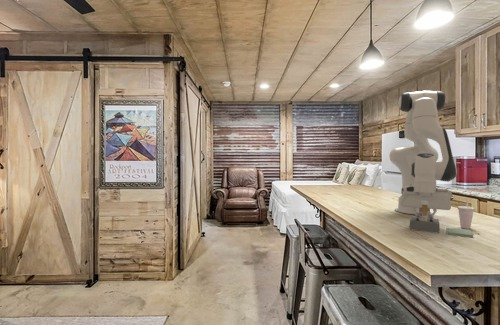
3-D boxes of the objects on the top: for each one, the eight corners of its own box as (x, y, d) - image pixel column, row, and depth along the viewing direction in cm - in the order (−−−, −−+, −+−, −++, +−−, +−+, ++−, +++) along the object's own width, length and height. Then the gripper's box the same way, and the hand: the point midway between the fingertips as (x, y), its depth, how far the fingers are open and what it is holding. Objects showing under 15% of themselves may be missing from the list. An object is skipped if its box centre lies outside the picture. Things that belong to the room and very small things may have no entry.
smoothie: (477, 229, 132) (477, 199, 131) (461, 229, 133) (462, 199, 132) (469, 226, 138) (470, 197, 137) (454, 225, 139) (455, 197, 139)
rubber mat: (445, 229, 132) (445, 227, 132) (470, 232, 128) (470, 230, 127) (447, 234, 125) (447, 232, 124) (473, 237, 120) (473, 235, 120)
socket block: (410, 224, 142) (411, 216, 142) (438, 227, 136) (438, 218, 136) (409, 229, 133) (410, 221, 132) (439, 233, 127) (439, 224, 127)
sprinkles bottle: (416, 227, 135) (417, 199, 135) (422, 226, 138) (422, 198, 137) (426, 230, 131) (426, 201, 131) (432, 228, 134) (432, 200, 133)
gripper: (451, 188, 131) (450, 218, 132) (401, 186, 142) (400, 214, 142) (452, 190, 126) (452, 221, 126) (400, 187, 136) (399, 216, 137)
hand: (424, 217), depth 134 cm, fingers closed on sprinkles bottle, 4 cm apart
